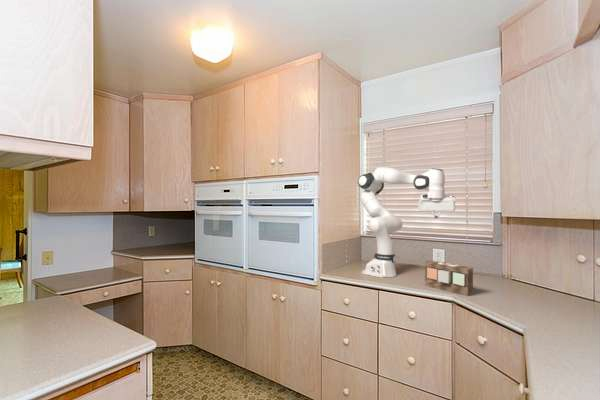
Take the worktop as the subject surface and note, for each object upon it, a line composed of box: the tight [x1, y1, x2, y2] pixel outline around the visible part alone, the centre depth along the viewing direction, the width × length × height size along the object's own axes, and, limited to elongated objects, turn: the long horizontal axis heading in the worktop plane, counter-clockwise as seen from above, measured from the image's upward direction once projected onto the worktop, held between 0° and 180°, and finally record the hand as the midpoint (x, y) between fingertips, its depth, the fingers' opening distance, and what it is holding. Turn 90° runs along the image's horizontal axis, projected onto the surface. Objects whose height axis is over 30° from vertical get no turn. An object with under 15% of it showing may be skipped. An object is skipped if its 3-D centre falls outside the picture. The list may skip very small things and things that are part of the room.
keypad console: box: [424, 260, 474, 297], centre depth 174 cm, size 24×6×15 cm, turn 37°
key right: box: [453, 272, 466, 286], centre depth 167 cm, size 6×4×6 cm
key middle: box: [438, 269, 452, 283], centre depth 172 cm, size 6×4×6 cm
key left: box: [427, 267, 441, 280], centre depth 179 cm, size 6×4×6 cm
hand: (436, 218), depth 185 cm, fingers closed
